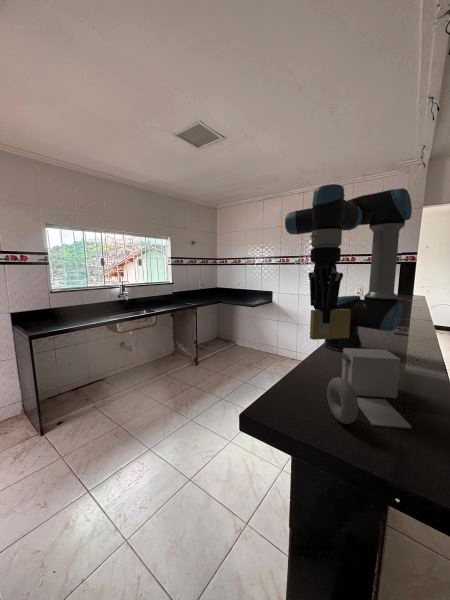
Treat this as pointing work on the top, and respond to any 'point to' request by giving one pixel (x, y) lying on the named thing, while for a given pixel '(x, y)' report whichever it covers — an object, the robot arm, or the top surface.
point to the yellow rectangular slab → (331, 324)
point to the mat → (381, 413)
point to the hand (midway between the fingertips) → (321, 333)
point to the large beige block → (371, 372)
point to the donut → (342, 400)
